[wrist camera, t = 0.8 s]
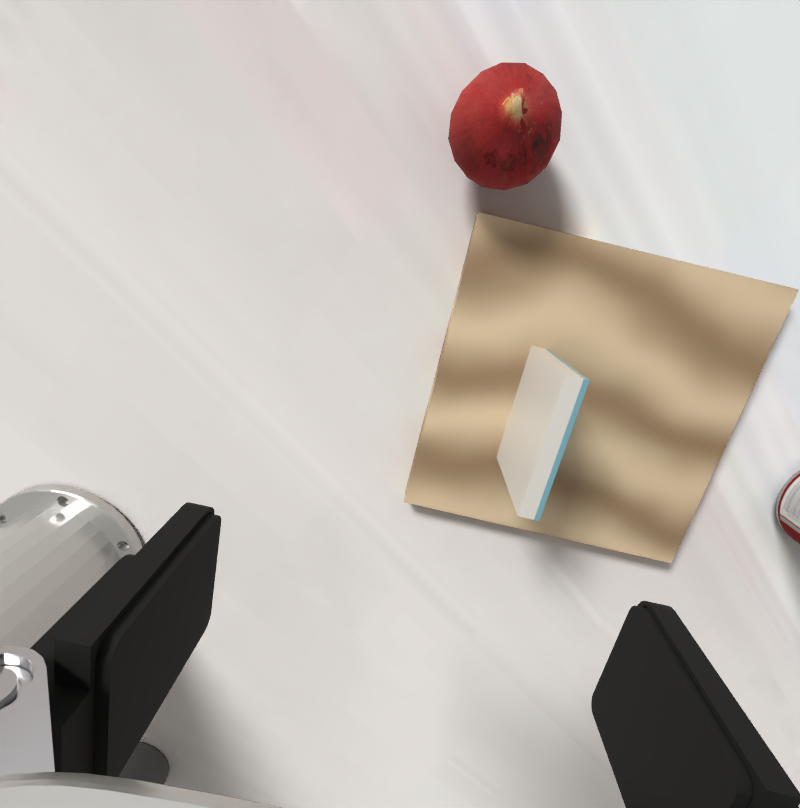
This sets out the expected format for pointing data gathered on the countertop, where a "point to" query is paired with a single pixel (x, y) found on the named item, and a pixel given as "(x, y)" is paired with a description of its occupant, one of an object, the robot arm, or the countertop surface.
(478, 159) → the onion
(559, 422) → the tile
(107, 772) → the robot arm
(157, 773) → the bottle
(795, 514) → the soda can
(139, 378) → the countertop surface
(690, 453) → the board
